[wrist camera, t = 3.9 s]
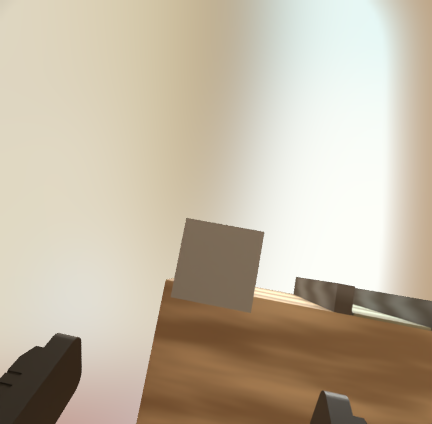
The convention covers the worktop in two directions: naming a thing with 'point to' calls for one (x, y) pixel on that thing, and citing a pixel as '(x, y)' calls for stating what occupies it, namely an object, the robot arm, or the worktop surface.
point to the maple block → (290, 357)
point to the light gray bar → (218, 265)
